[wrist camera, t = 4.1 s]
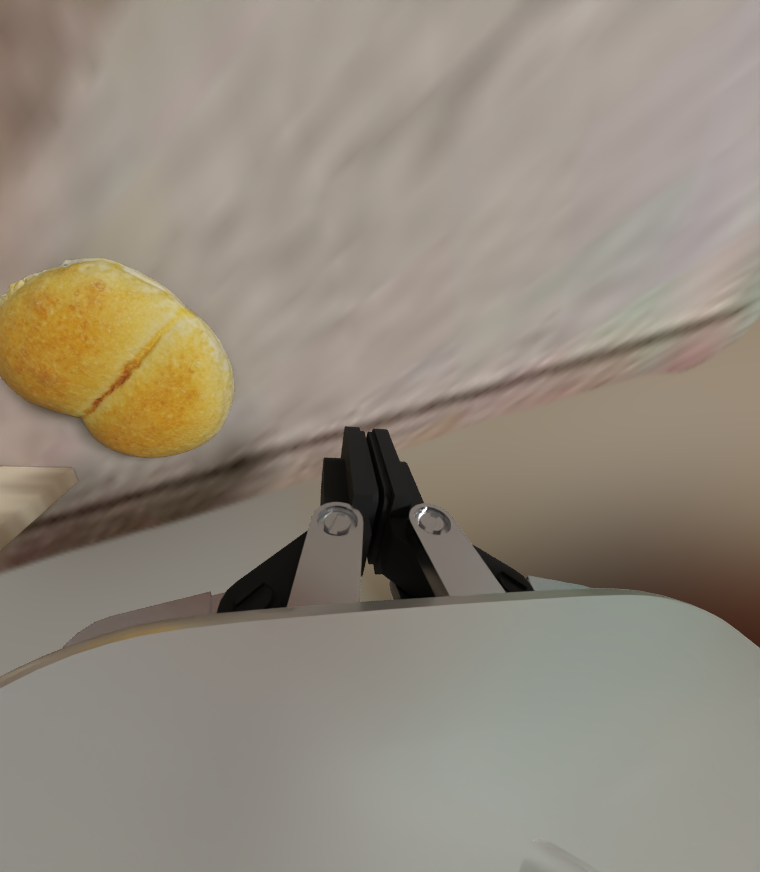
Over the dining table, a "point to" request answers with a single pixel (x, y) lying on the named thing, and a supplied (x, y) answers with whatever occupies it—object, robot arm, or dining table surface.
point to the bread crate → (29, 495)
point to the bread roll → (115, 357)
